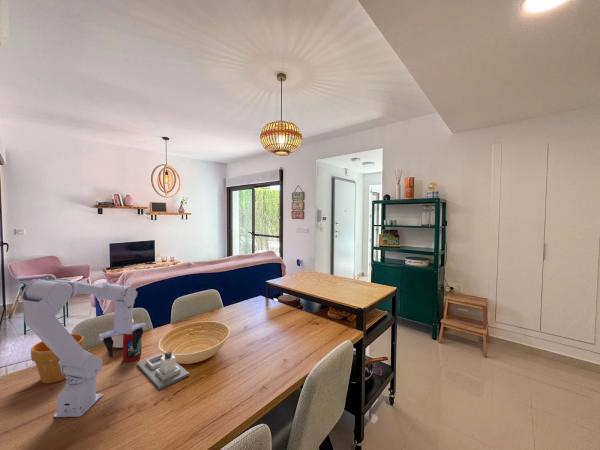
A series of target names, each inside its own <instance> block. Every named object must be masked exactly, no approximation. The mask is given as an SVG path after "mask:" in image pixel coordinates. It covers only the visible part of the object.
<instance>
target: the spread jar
mask: <svg viewBox="0 0 600 450" xmlns="http://www.w3.org/2000/svg"><path fill="white" fill-rule="evenodd" d="M133 324H135V322H134V319H133ZM133 324H132V325H133ZM123 336H124V334H122V335H118V336H115V337H111V338H112V340H113V341H114V342H113V349H115V350H123Z"/></svg>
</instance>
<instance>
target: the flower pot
mask: <svg viewBox="0 0 600 450" xmlns="http://www.w3.org/2000/svg"><path fill="white" fill-rule="evenodd" d="M70 334H71V335H72V337H73V338H74V339H75V340H76V341H77V342H78V344H79V345H80V346H81V347H82V348H83V347H84V335H82V334H76V333H74V334H73V333H70ZM30 358H31V361H32V362H34V363H35V365H36V368H37V372H38V376H39V378H40V381H41V383H42V384H53V383H57V382H60V381H63V380H66V375H63V374H62V373H61V367H60V365H59V364H58V362H59V361H60V359H59V358H58V357H57V356H56V355H55V354H54V353H53V352H52V351H51V350H50V349H49V347H48V346H47V345H46V344H45V343H44V342H43V341H42V340H41V341H39V342H37V343H35V344H34V345H33V346H32V347H31V348H30Z"/></svg>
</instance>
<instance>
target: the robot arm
mask: <svg viewBox="0 0 600 450" xmlns="http://www.w3.org/2000/svg"><path fill="white" fill-rule="evenodd" d="M76 294H85V295H94V297H95V298H96V299H98V300H103V301H112V302H114V314H113V315H114V319H113V322H114V325H113V329H110V330H108V331H106V332H102V333H99V334H98V341H99V342H103V343H104V345H105V348H106V350H107V353H108V357H109V358H110V359H112V358H113V357H114V356H113V354H114V353H113V349H114V347H113V342H114V341H113V340H112V338H111V337H115V336H118V335H122V334H125V333H129V332H132V335H133V343H132V348H133V349H134V350H136V348H137V344H138V342H139V339H140V337H141V336H142V337H143V334H144V330H145V329H146V323H145V322H140V323H134V324H133V320H134V319H133V315H134V314H133V313H134V305H135V301H136V298H137V296H138V291H137V290H136V288H135V287H133V286H131V285H124V283H114V282H113V281H109V280H108V281H105V282H101V283H99V284H93V283H88V282H82V281H77V280H66V279H49V280H47V279H43V278H40V279H34V280H32V281H30V282H28V283H27V284H26V286H25V287H24V288H23V291H22V292H21V294H20V296H19V299H20V300H21V302H22V304H23V316H24V317H23V318H24V323H25V326H27V327H28V328H29V329H30V330H31V331H32V332H33V333H34V334H35V335H36V336H37V337H38V338H39V339H40V340H41V341H43V342H44V343H45V344H46V345H47V346H48V347H49V349H50V350H51V351H52V352H53V353H54V354H55V355H56V356H57V357H58V358H59V359H60V361H59V362H58V364H59V365H60V367H61V373H62V374H63V375H66V378H65V380H66V382H65V383H66V384H65V385H64V387H63V388H62V389H61V390H60V392H58V394H57V396H56V413H54V414H53V417H54V418H70V417H71V418H73V417H75V418H78V417H82V416H83V415H84V414H85V413H86V412H87V411H88V410H89V409H91V407H92V406H93V405H95V403H97V402H98V401H99V400H100V399H101V397H103V393H97V376H98V375H99V373H100V372H101V370H102V367H103V364H104V361H103V359H102V357H99V356H95V355H94V354H93V353H91V352H89V351H87V350H86V349H84V348H83V347H81V346H80V345H79V344H78V342H77V341H76V340H75V339H74V338H73V337H72V335H71V334H72V333H70V332H69V331H68V329H66V327H65V326H64V325H63V324H62V322H61V321H60V320H59V319H58V318H57V317H56V316H57V315H58V314H59V313H60V311H61V310H62V309H63V308H64V307H65V305H66V303H68V301H69V300H70V299H71V298H74V297H75V296H76ZM132 324H133V325H132Z"/></svg>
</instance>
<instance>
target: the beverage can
mask: <svg viewBox="0 0 600 450" xmlns="http://www.w3.org/2000/svg"><path fill="white" fill-rule="evenodd" d="M142 339H143V335H142V336H141V337H140V339H139V342H138V344H137V348H136V350H134V349H133V348H132V343H133V335H132V332H129V333H125V334H124V336H123V349H122V360H123V361H124V362H134V361H136V360H138V359H139V358H140V357H141V356H142V347H143V346H142V343H143V342H142V341H143V340H142Z"/></svg>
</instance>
